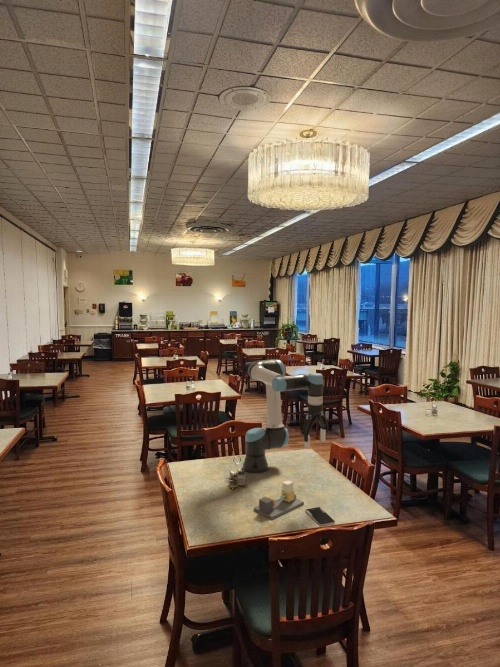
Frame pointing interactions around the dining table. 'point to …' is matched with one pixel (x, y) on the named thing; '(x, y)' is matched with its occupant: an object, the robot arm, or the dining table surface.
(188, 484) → the dining table surface
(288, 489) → the sleeve
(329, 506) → the dining table surface
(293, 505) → the comb base
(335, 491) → the dining table surface
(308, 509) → the smartphone
